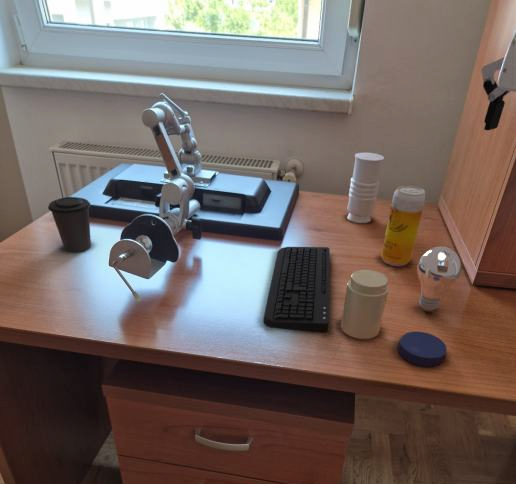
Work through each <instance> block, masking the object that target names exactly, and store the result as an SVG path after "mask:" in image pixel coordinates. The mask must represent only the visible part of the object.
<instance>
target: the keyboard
mask: <svg viewBox="0 0 516 484" xmlns="http://www.w3.org/2000/svg"><path fill="white" fill-rule="evenodd" d="M330 252H331V251H330V248H329V247H328V246H285V247H281V248H279V249H278V250H277V253H276V258H275V263H274V268H273V272H272V275H271V281H270V286H269V289H268V290H269V291H268V295H267V301H266V305H265V310H264V314H263V320H262V321H263V324H264V325H265V326H266V327H268V328H272V329H273V328H274V329H276V328H277V329H286V330H295V331H303V332H315V333H327V332H328V331H329V326H330V325H329V324H330V254H331V253H330Z"/></svg>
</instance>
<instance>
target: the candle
mask: <svg viewBox="0 0 516 484" xmlns="http://www.w3.org/2000/svg"><path fill="white" fill-rule="evenodd" d="M354 158H355V160H354V165H353V166H354V167H353V172H352V177H351V178H350V184H349V187H350V188H349V190H348V192H349V193H348V197H349V198H348V202H347V207H346V212H347V213H348V215H347V217H346V218H347V220H348V221H350V222H353V223H357V224H367V223H369V222H371V221H372V218H371V216H372V215H374V213H375V207H376V200H377V199H378V194H379V189H380V186H379V185H380V184H381V181H380V176H381V171H382V165H383V161H384V160H385V156H383V155H381V154H379V153H374V152H357V153H355V154H354Z"/></svg>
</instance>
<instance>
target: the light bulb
mask: <svg viewBox="0 0 516 484" xmlns="http://www.w3.org/2000/svg"><path fill="white" fill-rule="evenodd" d="M461 271H462V262H461V258H460V257H459V254H458V253H457V252H456V251H455V250H454V249H452V248H450V247H448V246H443V245H438V246H434V247H431V248H429V249H427V250H425V251H424V252H423V253H422V254H421V256H420V258H419V259H418V261H417V264H416V273H417V277H418V280H419V282H420V296H419V301H418V306H419V307H420V308H421V309H422V310H423V311H424V312H426V313H430V312H432V311H434V310H437V308H438V307H439V304H440V301H441V298H442V297H443V296H444V294H445V292H446V291H447V289H448V288H450V287H451V285H453V284H454V283H456V282H457V280H458V278H459V277H460V274H461Z"/></svg>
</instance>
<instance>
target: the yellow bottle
mask: <svg viewBox="0 0 516 484" xmlns="http://www.w3.org/2000/svg"><path fill="white" fill-rule="evenodd" d="M426 197H427V196H426V191H425V189H423V188H421V187H418V186H415V185H400V186H398V187H397V188H396V190H395V191H394V192H393V195H392V201H391V205H390V210H389V215H388V220H387V224H386V228H385V234H384V240H383V244H382V249H381V254H380V257H381V258H382V261H383V262H384V263H385V264H387V265H390V266H392V267H403V266H406V265H408V263H409V262H411V260H412V256H413V251H414V247H415V244H416V239H417V235H418V231H419V227H420V224H421V219H422V214H423V211H424V207H425V202H426Z"/></svg>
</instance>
